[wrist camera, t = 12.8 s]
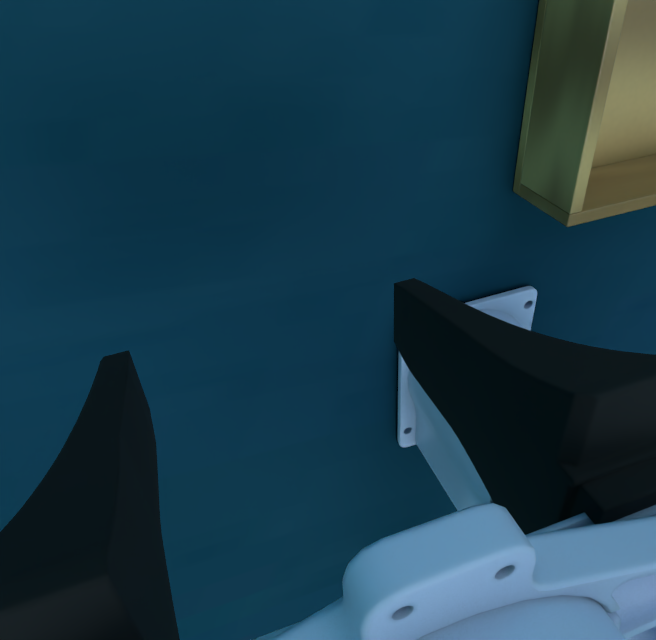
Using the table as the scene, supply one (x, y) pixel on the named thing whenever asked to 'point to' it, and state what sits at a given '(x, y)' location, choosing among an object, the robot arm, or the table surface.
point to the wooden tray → (590, 110)
